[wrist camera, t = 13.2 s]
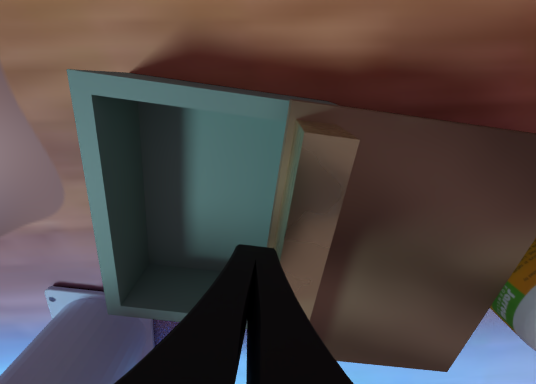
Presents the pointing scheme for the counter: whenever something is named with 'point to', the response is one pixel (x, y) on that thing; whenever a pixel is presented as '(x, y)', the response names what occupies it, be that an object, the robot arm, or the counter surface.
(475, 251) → the lid
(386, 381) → the counter surface
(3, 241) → the counter surface
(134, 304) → the teal shallow tray
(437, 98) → the counter surface
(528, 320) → the supplement bottle
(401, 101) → the counter surface
